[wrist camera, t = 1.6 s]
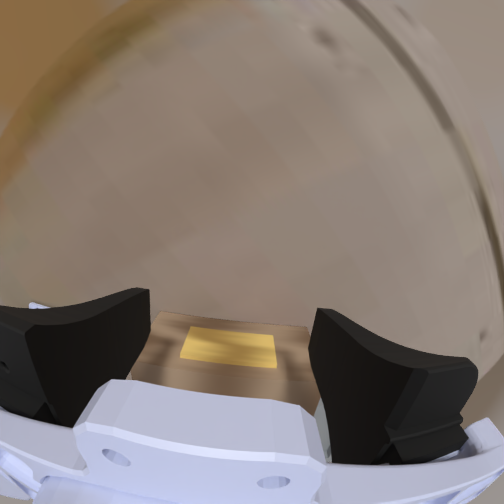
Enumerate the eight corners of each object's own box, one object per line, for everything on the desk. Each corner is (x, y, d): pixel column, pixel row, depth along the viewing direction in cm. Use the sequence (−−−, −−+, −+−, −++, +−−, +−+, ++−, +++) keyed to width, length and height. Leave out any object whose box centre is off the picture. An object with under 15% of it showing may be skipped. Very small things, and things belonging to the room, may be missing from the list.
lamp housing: (162, 356, 22) (137, 409, 16) (160, 307, 21) (128, 355, 14) (296, 370, 23) (308, 427, 16) (307, 323, 22) (327, 377, 15)
